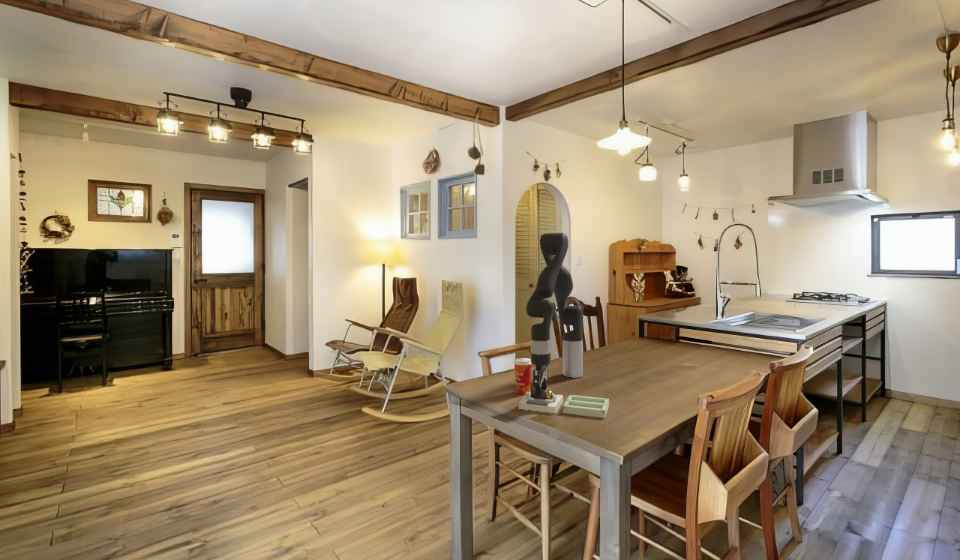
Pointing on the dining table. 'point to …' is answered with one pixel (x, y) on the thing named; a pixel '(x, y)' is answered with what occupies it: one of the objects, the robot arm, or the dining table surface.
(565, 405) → the tray
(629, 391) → the dining table surface
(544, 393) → the cell
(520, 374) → the paper cup
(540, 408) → the white battery holder
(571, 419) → the dining table surface
